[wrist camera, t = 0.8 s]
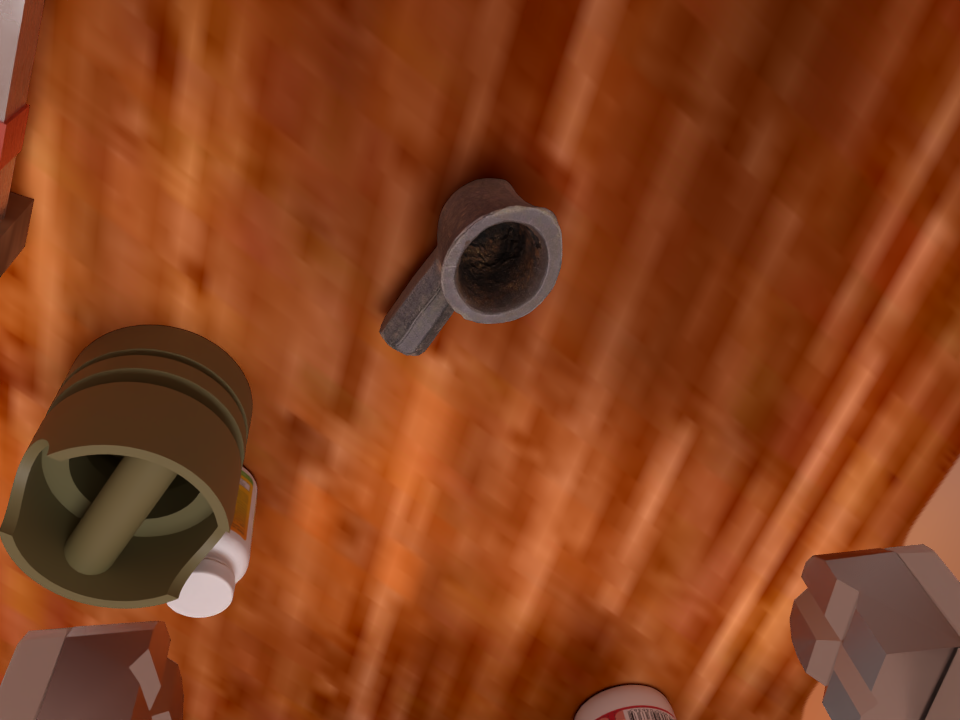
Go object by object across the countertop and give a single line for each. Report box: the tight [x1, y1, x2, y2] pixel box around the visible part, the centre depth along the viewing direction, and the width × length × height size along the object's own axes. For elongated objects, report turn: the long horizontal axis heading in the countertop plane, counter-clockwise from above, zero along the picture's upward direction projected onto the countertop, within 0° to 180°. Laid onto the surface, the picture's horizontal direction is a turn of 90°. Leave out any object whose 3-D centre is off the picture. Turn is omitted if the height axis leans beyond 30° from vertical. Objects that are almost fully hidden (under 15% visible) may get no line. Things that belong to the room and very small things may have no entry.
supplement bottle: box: [167, 467, 257, 618], centre depth 54 cm, size 5×5×10 cm
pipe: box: [379, 178, 562, 356], centre depth 47 cm, size 6×13×8 cm, turn 144°
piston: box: [0, 325, 252, 608], centre depth 48 cm, size 11×12×11 cm
